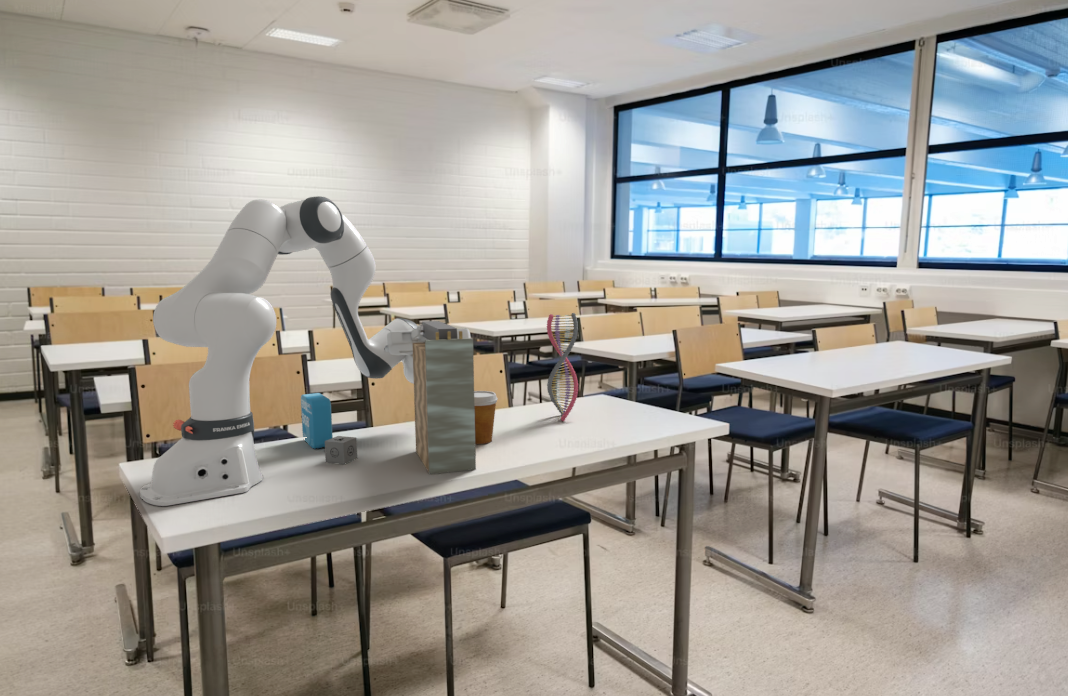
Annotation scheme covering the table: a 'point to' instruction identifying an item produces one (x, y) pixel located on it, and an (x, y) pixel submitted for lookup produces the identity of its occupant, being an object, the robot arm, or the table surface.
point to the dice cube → (341, 449)
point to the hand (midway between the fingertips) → (432, 327)
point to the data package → (316, 419)
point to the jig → (444, 403)
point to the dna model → (561, 361)
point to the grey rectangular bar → (438, 330)
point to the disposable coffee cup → (484, 415)
